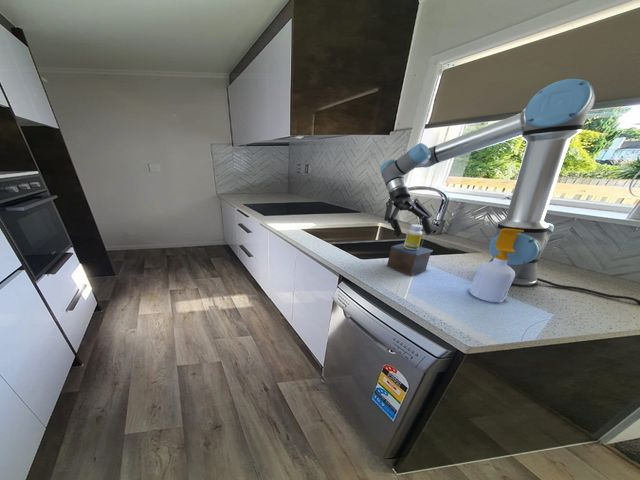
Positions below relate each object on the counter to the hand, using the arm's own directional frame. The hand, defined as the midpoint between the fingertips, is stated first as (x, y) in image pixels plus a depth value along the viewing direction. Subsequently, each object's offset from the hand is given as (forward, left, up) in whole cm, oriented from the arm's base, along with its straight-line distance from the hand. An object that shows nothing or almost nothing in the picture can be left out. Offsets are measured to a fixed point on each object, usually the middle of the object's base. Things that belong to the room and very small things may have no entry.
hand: (414, 233), depth 100 cm
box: (0, 0, -16) cm, 16 cm away
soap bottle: (-27, -3, -16) cm, 32 cm away
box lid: (0, 0, -7) cm, 7 cm away
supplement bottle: (0, 0, -6) cm, 6 cm away
